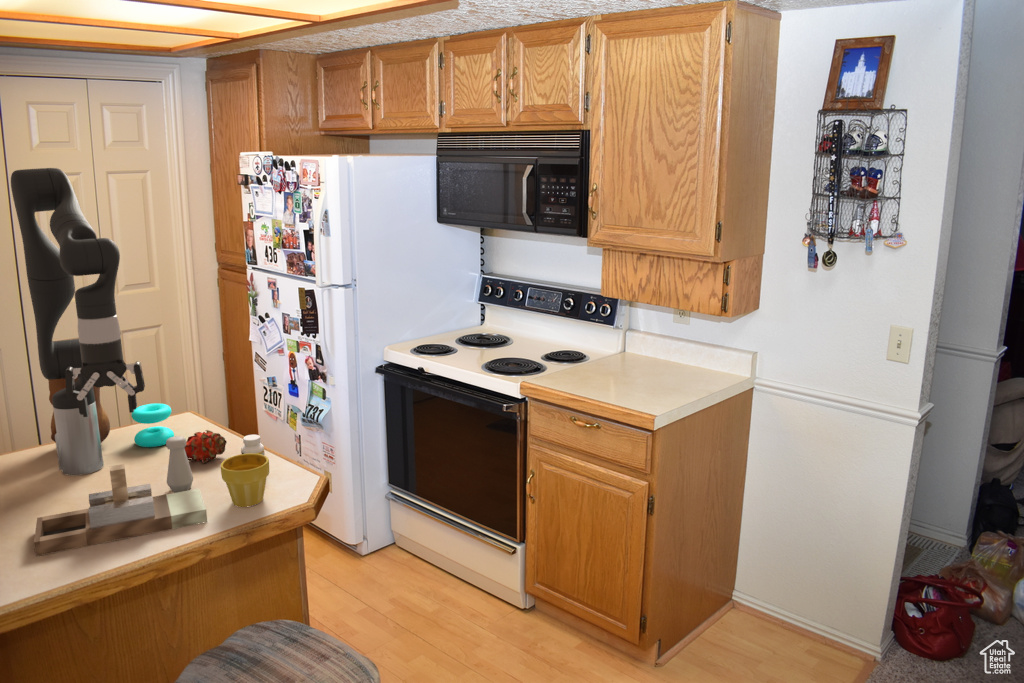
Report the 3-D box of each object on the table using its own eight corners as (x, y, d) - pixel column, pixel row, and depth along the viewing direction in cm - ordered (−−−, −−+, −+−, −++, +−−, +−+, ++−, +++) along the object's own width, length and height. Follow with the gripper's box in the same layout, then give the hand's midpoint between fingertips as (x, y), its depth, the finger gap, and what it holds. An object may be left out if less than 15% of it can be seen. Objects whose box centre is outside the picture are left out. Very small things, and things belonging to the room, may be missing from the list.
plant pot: (252, 514, 173) (248, 473, 171) (214, 507, 177) (210, 466, 174) (280, 495, 183) (278, 456, 180) (244, 489, 186) (241, 450, 184)
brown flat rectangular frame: (36, 556, 155) (33, 542, 154) (39, 530, 165) (37, 517, 165) (207, 521, 170) (206, 509, 169) (200, 500, 180) (199, 488, 179)
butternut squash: (98, 435, 220) (87, 349, 214) (120, 447, 212) (109, 357, 206) (45, 449, 210) (32, 359, 204) (66, 462, 202) (53, 368, 196)
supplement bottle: (238, 476, 193) (235, 439, 191) (253, 468, 198) (250, 432, 196) (256, 480, 191) (253, 442, 189) (270, 471, 196) (267, 435, 194)
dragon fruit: (232, 462, 206) (184, 476, 201) (225, 436, 210) (178, 450, 206) (228, 445, 199) (179, 459, 195) (221, 419, 204) (172, 432, 199)
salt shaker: (184, 495, 182) (179, 443, 179) (162, 493, 184) (156, 441, 180) (199, 485, 188) (194, 434, 185) (177, 483, 189) (172, 432, 186)
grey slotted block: (91, 529, 160) (88, 513, 159) (90, 509, 169) (88, 494, 168) (155, 517, 165) (153, 501, 164) (151, 498, 174) (150, 483, 173)
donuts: (156, 399, 220) (178, 406, 215) (160, 433, 222) (182, 440, 217) (123, 409, 212) (144, 416, 207) (127, 444, 214) (148, 451, 209)
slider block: (107, 522, 163) (101, 475, 160) (106, 510, 168) (100, 465, 166) (139, 516, 166) (133, 469, 163) (137, 505, 171) (132, 460, 168)
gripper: (56, 344, 153) (67, 423, 157) (137, 339, 158) (145, 415, 162) (63, 336, 160) (73, 412, 163) (140, 331, 165) (148, 404, 168)
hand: (109, 413), depth 163 cm, fingers open, 8 cm apart
